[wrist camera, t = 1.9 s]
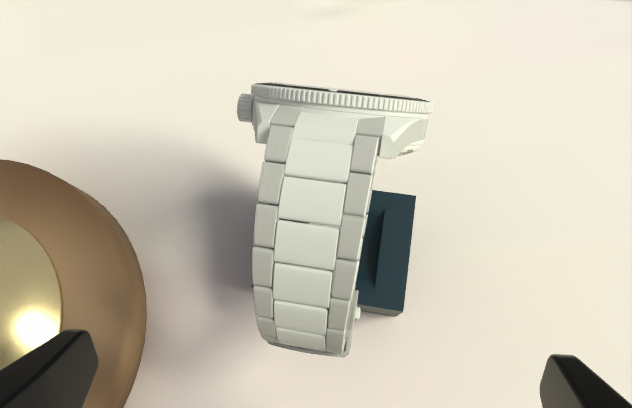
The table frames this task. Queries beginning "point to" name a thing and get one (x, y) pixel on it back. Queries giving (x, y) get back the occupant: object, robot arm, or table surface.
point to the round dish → (68, 278)
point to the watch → (328, 211)
